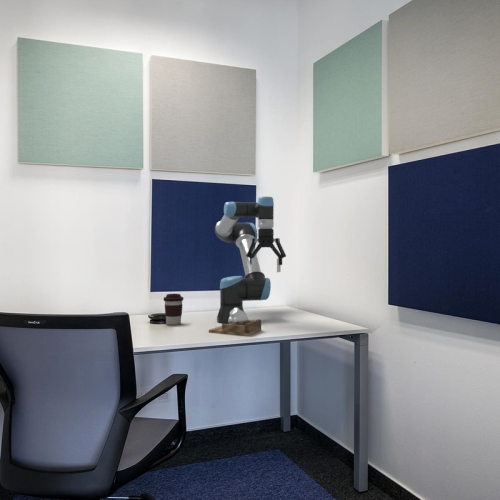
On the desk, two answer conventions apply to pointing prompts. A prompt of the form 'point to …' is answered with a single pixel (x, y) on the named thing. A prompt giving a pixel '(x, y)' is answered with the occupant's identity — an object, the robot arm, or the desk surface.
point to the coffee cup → (173, 308)
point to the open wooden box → (239, 328)
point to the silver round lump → (238, 317)
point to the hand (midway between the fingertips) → (265, 271)
